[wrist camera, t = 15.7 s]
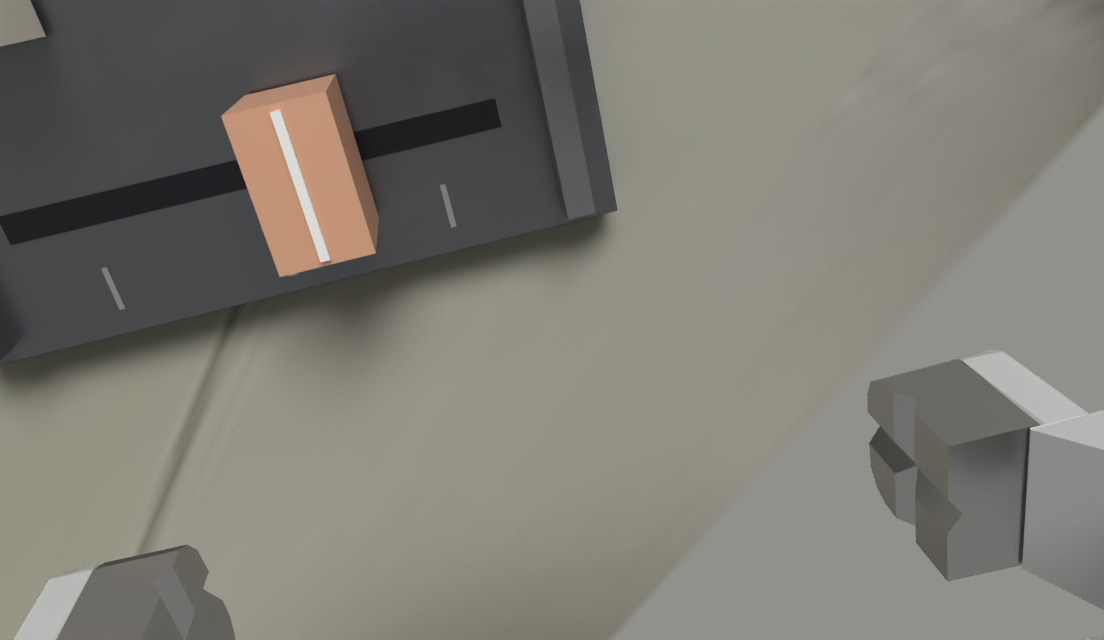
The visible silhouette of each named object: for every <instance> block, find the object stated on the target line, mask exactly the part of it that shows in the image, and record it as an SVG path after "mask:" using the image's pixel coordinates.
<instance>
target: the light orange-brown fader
mask: <svg viewBox="0 0 1104 640" xmlns="http://www.w3.org/2000/svg"><path fill="white" fill-rule="evenodd" d="M221 117H222V120H223V123H224V126H225V128H226V131H227V134H228V137H229V139H230V142H231V145H232V148H233V150H234V153H235V156H236V158H237V161H238V164H239V167H240V169H241V172H242V175H243V178H244V180H245V183H246V186H247V189H248V191H249V194H250V197H251V200H252V202H253V205H254V208H255V211H256V213H257V216H258V219H259V222H260V224H261V227H262V230H263V233H264V235H265V238H266V241H267V244H268V246H269V249H270V252H271V254H272V257H273V260H274V263H275V265H276V268H277V271H278V274H279V276H280V277H283V276H287V275H291V274H295V273H299V272H303V271H307V270H311V269H315V268H319V267H323V266H327V265H331V264H335V263H339V262H343V261H347V260H351V259H355V258H359V257H363V256H367V255H371V254H375V253H376V245H377V234H378V223H379V216H378V213H377V209H376V206H375V203H374V199H373V196H372V193H371V190H370V186H369V183H368V180H367V176H366V173H365V170H364V166H363V163H362V160H361V157H360V153H359V150H358V147H357V143H356V140H355V137H354V133H353V130H352V127H351V124H350V120H349V117H348V114H347V110H346V107H345V104H344V100H343V97H342V94H341V90H340V87H339V84H338V81H337V77H336V74H334V75H329V76H325V77H321V78H317V79H312V80H308V81H304V82H300V83H295V84H291V85H287V86H282V87H278V88H274V89H270V90H265V91H261V92H257V93H253V94H248V95H245V96H243V97H242V98H241V99H240V100H239V101H238V102H237V103H235V104H234V105H233V106H232V107H231V108H230V109H229V110H227V111H226V112H225V113H224V114H223V115H222V116H221Z"/></svg>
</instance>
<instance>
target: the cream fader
mask: <svg viewBox="0 0 1104 640" xmlns="http://www.w3.org/2000/svg"><path fill="white" fill-rule="evenodd" d="M45 36H46V35H45V33H44V31H43V28H42V26H41V24H40V21H39V19H38V17H37V15H36V12H35V10H34V8H33V5H32V3H31V1H30V0H0V47H1V46H6V45H10V44H14V43H19V42H23V41H28V40H32V39H37V38H41V37H45Z"/></svg>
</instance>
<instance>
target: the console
mask: <svg viewBox="0 0 1104 640" xmlns="http://www.w3.org/2000/svg"><path fill="white" fill-rule="evenodd" d="M30 1H31V3H32V5H33V8H34V10H35V12H36V15H37V17H38V19H39V21H40V24H41V26H42V28H43V31H44V33H45V35H46V36H45V37H41V38H37V39H32V40H28V41H23V42H19V43H14V44H10V45H6V46H1V47H0V365H1V364H5V363H9V362H13V361H17V360H21V359H25V358H29V357H33V356H37V355H41V354H45V353H49V352H53V351H57V350H61V349H65V348H69V347H73V346H77V345H81V344H85V343H89V342H93V341H97V340H101V339H105V338H109V337H113V336H117V335H121V334H125V333H129V332H133V331H137V330H141V329H145V328H149V327H153V326H157V325H161V324H165V323H169V322H173V321H177V320H181V319H185V318H189V317H193V316H197V315H201V314H205V313H209V312H213V311H217V310H221V309H225V308H229V307H233V306H237V305H241V304H245V303H249V302H253V301H257V300H261V299H265V298H269V297H273V296H277V295H281V294H285V293H289V292H293V291H297V290H301V289H305V288H309V287H313V286H317V285H321V284H325V283H329V282H333V281H337V280H341V279H345V278H349V277H353V276H357V275H361V274H365V273H369V272H373V271H377V270H381V269H385V268H389V267H393V266H397V265H401V264H405V263H409V262H413V261H417V260H421V259H425V258H429V257H433V256H437V255H441V254H445V253H449V252H453V251H457V250H461V249H465V248H469V247H473V246H477V245H481V244H485V243H489V242H493V241H497V240H501V239H505V238H509V237H513V236H517V235H521V234H525V233H529V232H533V231H537V230H541V229H545V228H549V227H553V226H557V225H561V224H565V223H569V222H573V221H577V220H581V219H585V218H589V217H593V216H597V215H601V214H605V213H609V212H613V211H617V205H616V200H615V194H614V189H613V183H612V178H611V172H610V167H609V161H608V156H607V150H606V145H605V139H604V134H603V128H602V122H601V117H600V111H599V106H598V100H597V95H596V89H595V84H594V78H593V73H592V67H591V62H590V56H589V51H588V45H587V39H586V34H585V28H584V23H583V17H582V12H581V6H580V1H579V0H30ZM334 74H336V77H337V81H338V84H339V87H340V90H341V94H342V97H343V100H344V104H345V107H346V110H347V114H348V117H349V120H350V124H351V127H352V130H353V133H354V137H355V140H356V143H357V147H358V150H359V153H360V157H361V160H362V163H363V166H364V170H365V173H366V176H367V180H368V183H369V186H370V190H371V193H372V196H373V199H374V203H375V206H376V209H377V213H378V216H379V223H378V234H377V245H376V253H375V254H371V255H367V256H363V257H359V258H355V259H351V260H347V261H343V262H339V263H335V264H331V265H327V266H323V267H319V268H315V269H311V270H307V271H303V272H299V273H295V274H291V275H287V276H283V277H280V276H279V274H278V271H277V268H276V265H275V263H274V260H273V257H272V254H271V252H270V249H269V246H268V244H267V241H266V238H265V235H264V233H263V230H262V227H261V224H260V222H259V219H258V216H257V213H256V211H255V208H254V205H253V202H252V200H251V197H250V194H249V191H248V189H247V186H246V183H245V180H244V178H243V175H242V172H241V169H240V167H239V164H238V161H237V158H236V156H235V153H234V150H233V148H232V145H231V142H230V139H229V137H228V134H227V131H226V128H225V126H224V123H223V120H222V117H221V116H222V115H223V114H224V113H225V112H226V111H227V110H229V109H230V108H231V107H232V106H233V105H234V104H235V103H237V102H238V101H239V100H240V99H241V98H242V97H243V96H245V95H248V94H253V93H257V92H261V91H265V90H270V89H274V88H278V87H282V86H287V85H291V84H295V83H300V82H304V81H308V80H312V79H317V78H321V77H325V76H329V75H334Z"/></svg>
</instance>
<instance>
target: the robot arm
mask: <svg viewBox="0 0 1104 640" xmlns="http://www.w3.org/2000/svg"><path fill="white" fill-rule="evenodd" d="M867 395H868V413H869V414H870V415H871V416H872V417H873V418H874V419H875V421H876V422H877V423H878V424H879V425H880V427H879V428H878V430H877V432H876V433H875V435H874V436H873V438H872V440H871V441H870V443H869V447H870V460H871V468H872V471H873V475H874V478H875V482H876V485H877V488H878V490H879V492H880V494H881V496H882V498H883V499H884V502H885V503H886V505H887V506H888V507H889V509H890V510H891V511H892V513H893V514H894V515H895V517H896V518H898V519H901V520H903V521H906V522H908V523H911V524H913V525H916V543H917V544H918V546H919V547H920V548H921V549H922V550H923V552H924V553H925V554H926V555H927V557H928V558H929V559H930V560H931V562H932V563H933V564H934V565H935V566H936V568H937V569H938V570H939V571H940V573H941V574H942V575H943V576H944V578H945V579H946V580H947V581H952V580H956V579H960V578H965V577H969V576H974V575H979V574H983V573H988V572H992V571H997V570H1001V569H1006V568H1010V567H1015V566H1019V565H1022V568H1023V569H1024V570H1026V571H1028V572H1030V573H1032V574H1034V575H1036V576H1038V577H1040V578H1042V579H1044V580H1046V581H1048V582H1050V583H1052V584H1054V585H1056V586H1058V587H1059V588H1062V589H1063V590H1065V591H1068V592H1069V593H1071V594H1073V595H1075V596H1077V597H1079V598H1081V599H1083V600H1085V601H1087V602H1089V603H1091V604H1093V605H1095V606H1097V607H1099V608H1101V609H1103V610H1104V411H1098V412H1094V413H1090V414H1089V413H1087V412H1086V411H1085V410H1083V409H1082V408H1081V407H1079V406H1078V405H1076V404H1075V403H1074V402H1072V401H1071V400H1069V399H1068V398H1067V397H1065V396H1064V395H1062V394H1061V393H1060V392H1058V391H1057V390H1056V389H1054V388H1053V387H1052V386H1050V385H1049V384H1047V383H1046V382H1044V381H1043V380H1042V379H1040V378H1039V377H1038V376H1036V375H1035V374H1034V373H1032V372H1031V371H1029V370H1028V369H1027V368H1025V367H1024V366H1022V365H1021V364H1020V363H1018V362H1017V361H1016V360H1014V359H1013V358H1011V357H1010V356H1009V355H1007V354H1006V353H1004V352H1003V351H999V350H994V349H989V350H986V351H982V352H979V353H975V354H971V355H968V356H964V357H961V358H957V359H953V360H951V361H949V362H945V363H941V364H937V365H933V366H930V367H926V368H922V369H918V370H914V371H910V372H906V373H902V374H898V375H895V376H891V377H887V378H883V379H879V380H876V381H871V382H870V386H869V390H868V394H867ZM208 572H209V571H208V569H207V567H206V565H205V564H204V562H203V560H202V558H201V556H200V554H199V552H198V550H197V549H195V548H193V547H191V546H188V545H184V546H179V547H174V548H170V549H165V550H161V551H156V552H152V553H147V554H142V555H138V556H133V557H129V558H124V559H120V560H115V561H110V562H106V563H103V564H102V565H101V564H96V565H92V566H88V567H84V568H80V569H76V570H72V571H68V572H64V573H61V574H59V575H57V576H55V577H53V578H51V579H49V581H48V583H47V584H46V586H45V588H44V589H43V591H42V593H41V595H40V596H39V598H38V600H37V601H36V603H35V605H34V606H33V608H32V610H31V611H30V613H29V615H28V616H27V618H26V620H25V621H24V623H23V625H22V626H21V628H20V630H19V631H18V633H17V635H16V637H15V638H14V640H235V635H234V631H233V627H232V623H231V619H230V616H229V613H228V611H227V609H226V607H225V605H224V603H223V600H221V599H219V598H217V597H216V596H214V595H212V594H210V593H209V592H207V591H205V590H203V587H204V584H205V581H206V578H207V575H208ZM1087 640H1104V635H1101V636H1098V637H1094V638H1090V639H1087Z"/></svg>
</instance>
